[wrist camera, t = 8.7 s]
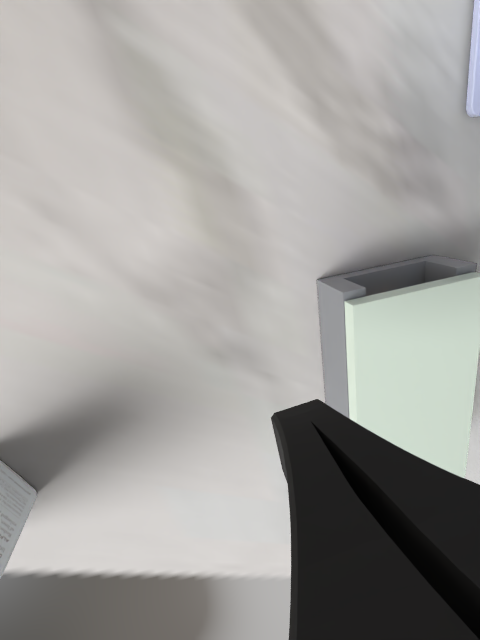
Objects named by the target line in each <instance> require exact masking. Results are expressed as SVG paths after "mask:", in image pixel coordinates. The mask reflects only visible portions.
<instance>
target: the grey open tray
mask: <svg viewBox="0 0 480 640" xmlns="http://www.w3.org/2000/svg"><path fill="white" fill-rule="evenodd" d="M476 267H477V263H473V262H468V261H462V260H457V259H452V258H447V257H442V256H436V255H431V256H426V257H422V258H417V259H412V260H408V261H403V262H398V263H393V264H389V265H384V266H379V267H374V268H370V269H365V270H360V271H356V272H351V273H346V274H341V275H337V276H332V277H327V278H322V279H318V280H317V291H318V305H319V319H320V332H321V346H322V360H323V374H324V388H325V402H326V404H327V405H328V406H330V407H332V408H333V409H335V410H336V411H338V412H340V413H341V414H343V415H344V416H346V417H348V418H349V395H348V372H347V349H346V326H345V303H344V301H347V300H352V299H356V298H361V297H365V296H370V295H374V294H378V293H383V292H387V291H392V290H396V289H401V288H405V287H409V286H414V285H418V284H423V283H427V282H432V281H436V280H440V279H445V278H449V277H454V276H458V275H463V274H467V273H471V272H476ZM349 419H350V418H349Z"/></svg>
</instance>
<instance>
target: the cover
mask: <svg viewBox="0 0 480 640" xmlns="http://www.w3.org/2000/svg"><path fill="white" fill-rule="evenodd" d="M344 303H345V326H346V349H347V372H348V395H349V418H350V419H351V420H353V421H354V422H356V423H358V424H359V425H361V426H363V427H364V428H366V429H368V430H369V431H371V432H373V433H375V434H376V435H378V436H380V437H382V438H384V439H385V440H387V441H389V442H391V443H392V444H394V445H396V446H398V447H400V448H402V449H404V450H405V451H407V452H409V453H411V454H413V455H415V456H417V457H419V458H421V459H423V460H425V461H427V462H429V463H431V464H433V465H435V466H438V467H440V468H442V469H444V470H446V471H448V472H451V473H453V474H455V475H457V476H460V477H462V478H464V477H465V474H466V465H467V456H468V447H469V438H470V429H471V420H472V412H473V403H474V394H475V385H476V376H477V367H478V358H479V350H480V273H477V272H471V273H467V274H463V275H458V276H454V277H449V278H445V279H440V280H436V281H432V282H427V283H423V284H418V285H414V286H409V287H405V288H401V289H396V290H392V291H387V292H383V293H378V294H374V295H370V296H365V297H361V298H356V299H352V300H347V301H344Z"/></svg>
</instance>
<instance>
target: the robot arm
mask: <svg viewBox="0 0 480 640" xmlns="http://www.w3.org/2000/svg"><path fill="white" fill-rule="evenodd" d="M466 112H467V114H468V115H469V116H470V117H479V116H480V0H474V10H473V23H472V36H471V50H470V63H469V76H468V89H467V103H466ZM271 420H272V424H273V429H274V433H275V438H276V442H277V447H278V451H279V456H280V460H281V465H282V469H283V472H284V475H285V477H286V480H287V483H288V492H289V505H290V521H291V605H290V606H291V607H290V629H289V640H480V485H479V484H476V483H474V482H472V481H469V480H467V479H465V478H462V477H460V476H457V475H455V474H453V473H451V472H448V471H446V470H444V469H442V468H440V467H438V466H435V465H433V464H431V463H429V462H427V461H425V460H423V459H421V458H419V457H417V456H415V455H413V454H411V453H409V452H407V451H405V450H404V449H402V448H400V447H398V446H396V445H394V444H392V443H391V442H389V441H387V440H385V439H384V438H382V437H380V436H378V435H376V434H375V433H373V432H371V431H369V430H368V429H366V428H364V427H363V426H361V425H359V424H358V423H356V422H354V421H353V420H351V419H349V418H348V417H346V416H344V415H343V414H341V413H340V412H338V411H336V410H335V409H333V408H332V407H330V406H328V405H327V404H325V403H323V402H322V401H320V400H318V399H316V400H313V401H310V402H307V403H304V404H301V405H298V406H295V407H291V408H288V409H285V410H282V411H279V412H276V413H274V414H273V416H272V417H271Z"/></svg>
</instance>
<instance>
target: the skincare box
mask: <svg viewBox="0 0 480 640" xmlns="http://www.w3.org/2000/svg"><path fill="white" fill-rule="evenodd" d="M37 495H38V494H37V493H36V490H35V489H34V488H33V487H31V486H30V485H29V484H28V483H27V482H26V481H25V480H24V479H22V477H20V476H19V475H18V474H17V473H15V472H14V471H13V470H12V469H11V468H9V467H8V466H7V465H6V464H5V463H3V462H2V461H1V460H0V579H1V577H2V575H3V572H4V570H5V568H6V566H7V563H8V561H9V559H10V556H11V554H12V552H13V550H14V547H15V545H16V543H17V541H18V538H19V536H20V534H21V532H22V529H23V527H24V525H25V523H26V520H27V518H28V515H29V513H30V511H31V509H32V506H33V504H34V502H35V500H36V497H37Z"/></svg>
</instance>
